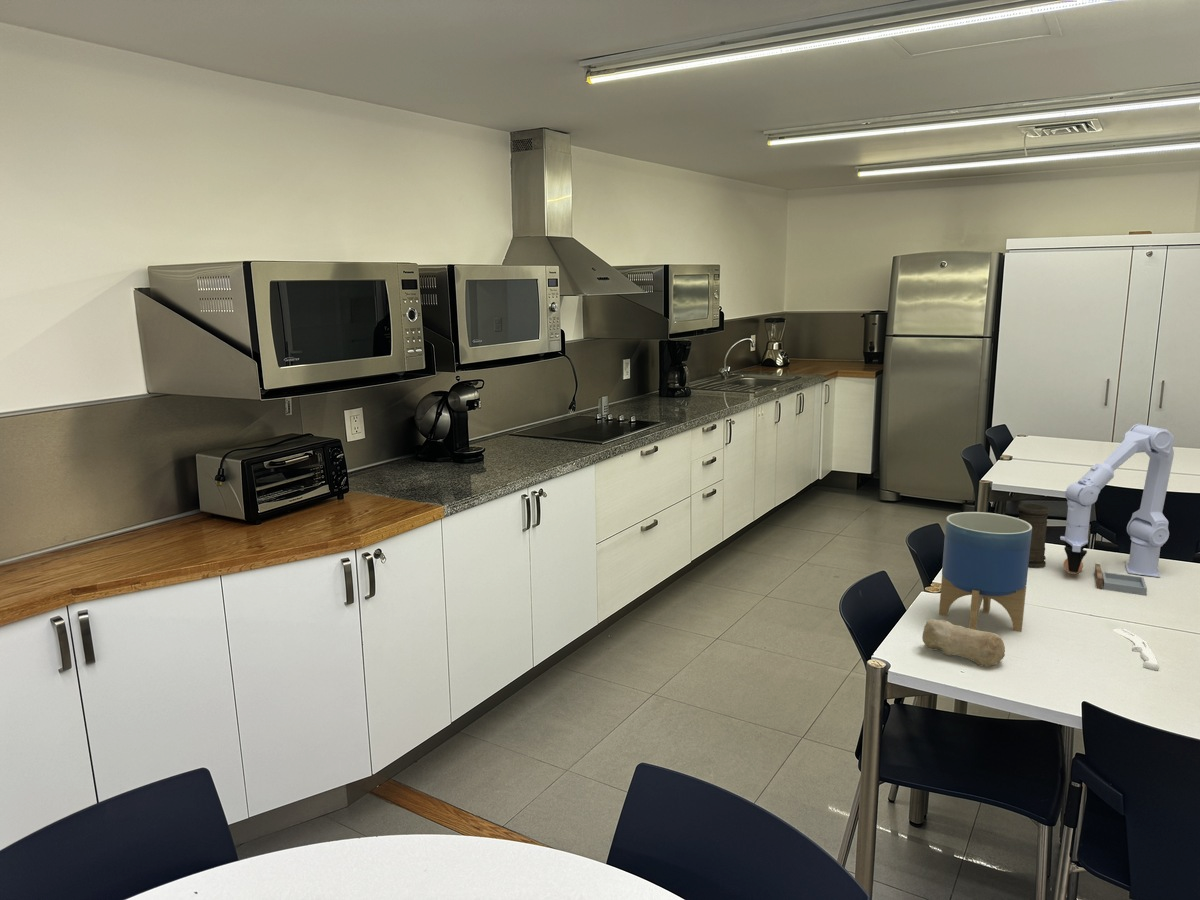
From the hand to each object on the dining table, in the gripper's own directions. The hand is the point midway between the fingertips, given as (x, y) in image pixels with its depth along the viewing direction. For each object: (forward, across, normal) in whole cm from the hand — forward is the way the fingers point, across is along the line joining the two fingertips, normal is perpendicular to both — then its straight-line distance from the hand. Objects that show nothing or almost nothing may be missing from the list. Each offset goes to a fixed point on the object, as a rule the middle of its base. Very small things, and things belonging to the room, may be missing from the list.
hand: (1072, 568), depth 239 cm
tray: (+2, +4, +12) cm, 13 cm away
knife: (+3, +46, +11) cm, 48 cm away
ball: (+1, 0, 0) cm, 1 cm away
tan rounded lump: (+2, +73, -24) cm, 77 cm away
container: (+2, -6, -12) cm, 13 cm away
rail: (+2, +2, +6) cm, 7 cm away
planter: (+2, +50, -22) cm, 55 cm away
